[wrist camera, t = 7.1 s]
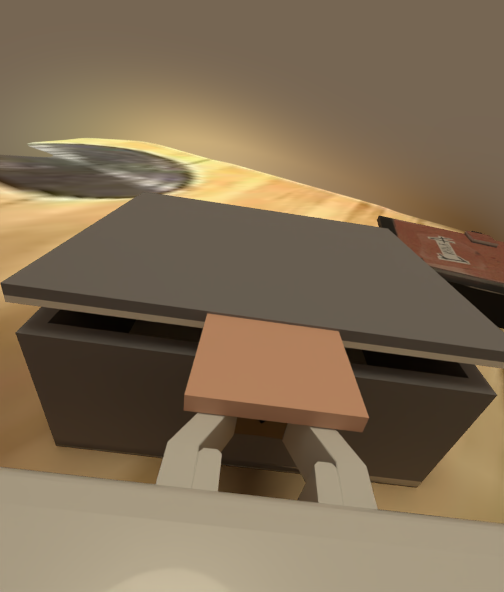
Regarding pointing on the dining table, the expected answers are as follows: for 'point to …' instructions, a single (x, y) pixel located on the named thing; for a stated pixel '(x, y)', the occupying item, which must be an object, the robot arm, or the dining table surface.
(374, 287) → the lid
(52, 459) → the dining table surface
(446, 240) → the book
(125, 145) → the dining table surface
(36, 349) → the box
